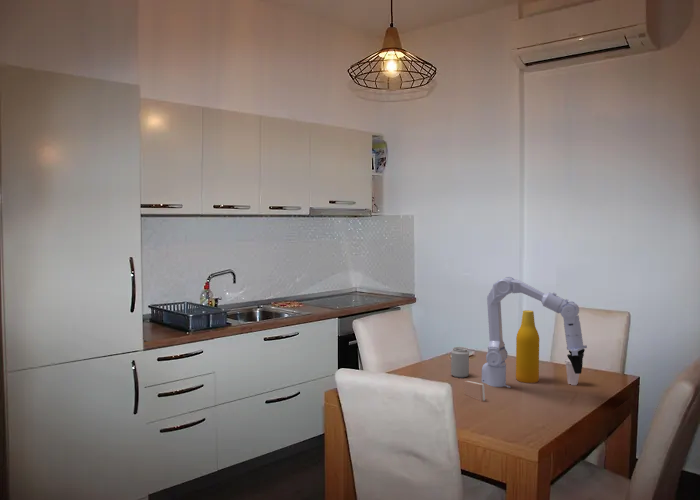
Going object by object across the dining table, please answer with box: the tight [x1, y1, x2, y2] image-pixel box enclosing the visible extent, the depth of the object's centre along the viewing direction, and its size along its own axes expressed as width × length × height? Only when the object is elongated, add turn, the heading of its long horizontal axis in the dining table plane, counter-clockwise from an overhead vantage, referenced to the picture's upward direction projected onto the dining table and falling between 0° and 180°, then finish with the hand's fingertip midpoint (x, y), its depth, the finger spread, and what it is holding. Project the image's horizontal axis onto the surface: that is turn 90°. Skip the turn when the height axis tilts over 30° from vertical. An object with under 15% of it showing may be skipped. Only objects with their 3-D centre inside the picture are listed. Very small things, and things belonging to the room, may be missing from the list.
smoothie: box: [564, 358, 580, 386], centre depth 234 cm, size 6×6×14 cm
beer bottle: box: [515, 310, 540, 384], centre depth 239 cm, size 9×9×29 cm
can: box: [450, 346, 470, 379], centre depth 246 cm, size 8×8×12 cm
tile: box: [463, 380, 486, 402], centre depth 213 cm, size 9×2×6 cm, turn 29°
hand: (578, 371), depth 214 cm, fingers open, 7 cm apart
